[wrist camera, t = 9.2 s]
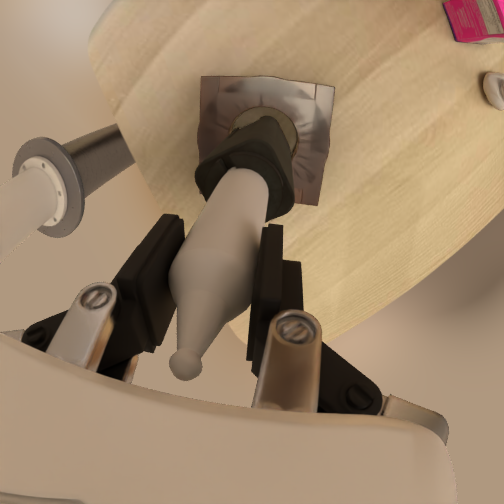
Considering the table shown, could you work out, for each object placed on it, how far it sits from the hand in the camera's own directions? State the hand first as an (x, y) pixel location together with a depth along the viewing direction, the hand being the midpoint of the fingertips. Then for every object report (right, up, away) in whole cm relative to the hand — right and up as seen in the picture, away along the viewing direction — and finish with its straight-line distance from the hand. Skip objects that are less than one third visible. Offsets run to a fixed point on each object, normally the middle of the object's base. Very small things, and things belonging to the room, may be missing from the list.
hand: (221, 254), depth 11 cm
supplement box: (+28, +29, +7) cm, 41 cm away
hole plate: (+3, +13, +20) cm, 24 cm away
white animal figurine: (+33, +22, +11) cm, 41 cm away
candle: (+2, +11, +16) cm, 20 cm away
